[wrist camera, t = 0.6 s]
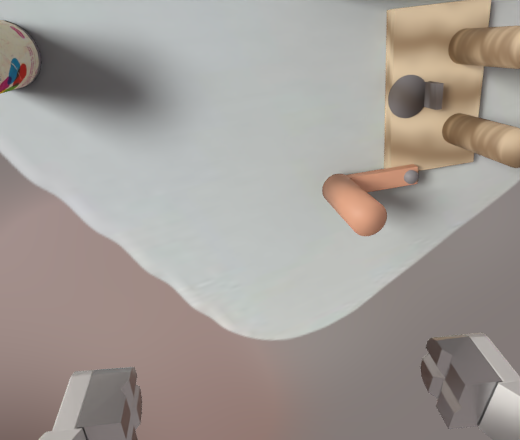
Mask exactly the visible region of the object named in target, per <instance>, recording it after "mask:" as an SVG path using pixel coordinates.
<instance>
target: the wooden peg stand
mask: <svg viewBox="0 0 520 440" xmlns="http://www.w3.org/2000/svg"><path fill="white" fill-rule="evenodd" d="M490 8H491V0H465V1H456V2H448V3H440V4H431V5H423V6H414V7H406V8H398V9H391V10H387V36H386V93H385V149H384V169H386V168H392V167H398V166H404V165H411V164H414V165H416V166H418V173H419V171H421V170H427V169H433V168H439V167H445V166H451V165H457V164H463V163H469V162H473V159H474V153H476V154H479V155H482V156H484V157H487V158H489V159H492V160H495V161H497V162H500V163H503V164H505V165H508V166H510V167H514V168H519V167H520V128H517V127H513V126H509V125H505V124H501V123H498V122H494V121H490V120H486V119H482V118H478V115H479V106H480V97H481V88H482V79H483V70H484V66H489V67H502V68H514V69H520V26H505V27H488V25H489V17H490ZM417 181H418V180H417Z"/></svg>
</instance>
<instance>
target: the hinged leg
mask: <svg viewBox="0 0 520 440" xmlns="http://www.w3.org/2000/svg"><path fill="white" fill-rule="evenodd" d="M418 178H419V175H418V166H416V165H414V164H411V165H404V166H398V167H392V168H386V169H380V170H374V171H368V172H362V173H356V174H349V175H344V174H334V175H332V176H330V177H329V178H328V179H327V180H326V181H325V183H324V185H323V189H322V192H323V196H324V198H325V199H326V200H327V201H328V202H329V203H330V205H331V206H332V207H333V208H334V209H335V210H336V211H337V212H338V213H339V215H340V216H341V217H342V218H343V219H344V220H345V221H346V222H347V223H348V225H349V226H350V227H351V228H352V229H353V230H354V231H355V232H356V233H357V234H359V235H361V236H370V235H373V234H375V233H377V232H379V231H380V230H381V229H382V228H383V226H384V225H385V222H386V219H387V212H386V209H385V208H384V206H383V205H382V204H380V203H379V202H378V201H377V200H376V199H374V198H373V197H372V196H371V195H369V194H368V193H367V192H372V191H378V190H384V189H389V188H395V187H401V186H407V185H413V184H417V180H418Z"/></svg>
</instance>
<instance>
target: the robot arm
mask: <svg viewBox="0 0 520 440" xmlns="http://www.w3.org/2000/svg"><path fill="white" fill-rule="evenodd" d="M426 349H427V351H428V352H429V353H428V354H427V355H426V356H425V357H423V358H422V362H421V376H422V379H423V382H424V385H425V387H426V389H427V391H428V392H429V393H430V394H432V395H433V396H435V397H436V398H437V404H436V407H437V409H438V411H439V413H440V415H441V416H442V418H443V420H444V422H445V424H446V426H447V427H448V429H453V428H464V427H475V426H479V427H478V428H479V429H480V430H481V431H483V432H484V433H485V434H486V435H487V436H488V437H490V438H491V439H492V440H520V376H519V375H518V374H517V373H516V372H515V370H514V369H513V368H512V367H511V366H510V364H509V363H508V362H507V360H506V359H505V358H504V357H503V355H502V354H501V353H500V352H499V350H498V349H497V348H496V347H495V345H494V344H493V343H492V342H491V340H490V339H489V338H488V337H487V336H486V335H485V334H483V333H474V334H465V335H462V334H461V335H452V336H444V337H434V338H430V339H429V340H428V341H427V344H426ZM136 379H137V373H136V370H135V368H134V367H130V368H116V369H101V370H89V371H77V372H74V373H73V375H72V376H71V378H70V380H69V383H68V386H67V389H66V392H65V395H64V398H63V401H62V404H61V407H60V410H59V413H58V415H57V418H56V421H55V424H54V427H53V430H52V431H51V432H46V433H45V434H44V435H43V436H42V437H40V438H39V439H38V440H138V439H137V435H136V431H135V430H136V428H137V427H138V426H139V425H140V422H141V414H142V396H141V390H140V387H139V386H138V385H136Z"/></svg>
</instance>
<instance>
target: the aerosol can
mask: <svg viewBox="0 0 520 440" xmlns="http://www.w3.org/2000/svg"><path fill="white" fill-rule="evenodd" d="M40 67H41V57H40V51H39V49H38V47H37V45H36V43H35V41H34V40H33V39H32V37H31V36H30V35H29V34H28V33H27V32H26V31H25V30H23V29H22V28H21V27H19V26H18V25H16V24H13V23H11V22H8V21H3V20H0V93H4V92H7V91H11V90H15V89H18V88H22V87H25V86H28V85H29V84H30V83H32V82H33V81H34V80H35V79H36V77H37V75H38V74H39V72H40Z"/></svg>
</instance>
